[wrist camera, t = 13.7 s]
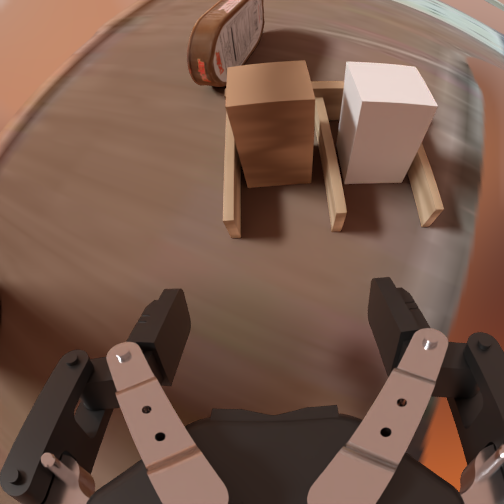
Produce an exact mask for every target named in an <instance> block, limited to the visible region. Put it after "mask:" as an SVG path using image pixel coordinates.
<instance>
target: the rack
mask: <svg viewBox="0 0 504 504" xmlns="http://www.w3.org/2000/svg"><path fill="white" fill-rule="evenodd" d="M311 84H312V88H313V92H314V96H315V123H314V125H315V130H316V136H317V141H318V146H319V152H320V158H321V163H322V169H323V175H324V182H325V188H326V195H327V201H328V208H329V216H330V223H331V231H332V232H335V231H341V229H342V226H343V223H344V220H345V217H346V214H347V210H346V204H345V198H344V192H343V187H342V181H341V176H340V171H339V166H338V161H337V156H336V151H335V147H334V142H333V138H332V133H331V129H330V125H329V120H340V114H341V106H342V98H343V90H344V81H311ZM225 100H226V89H225ZM407 174H408V177H409V181H410V184H411V188H412V191H413V195H414V199H415V202H416V206H417V210H418V214H419V218H420V222H421V227H429V226H430V225H431V224H432V223H433V221H434V220H435V219H436V218H437V217H438V216H439V215H440V213H441V212H442V211H443V210H444V208H443V204H442V201H441V197H440V194H439V191H438V187H437V184H436V181H435V178H434V175H433V172H432V169H431V166H430V164H429V161H428V158H427V155H426V153H425V150H424V147H423V145H422V143H421V145H420V147H419V149H418V151H417V153H416V155H415V157H414V159H413V161H412V163H411V165H410V167H409V169H408V171H407ZM223 222H224V224H225V226H226V228H227V230H228V232H229V234H230V236H231V238H241V161H240V157H239V154H238V150H237V146H236V143H235V139H234V136H233V132H232V128H231V125H230V121H229V118H228V114H227V111H226V134H225V162H224V196H223Z"/></svg>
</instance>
